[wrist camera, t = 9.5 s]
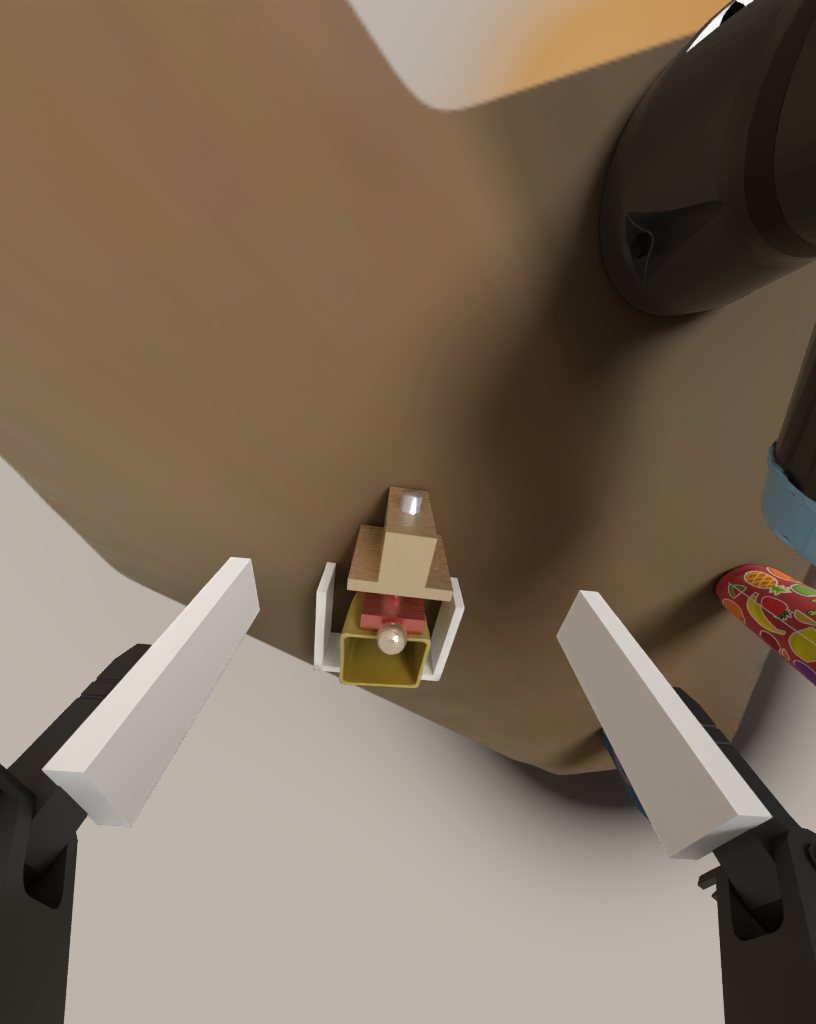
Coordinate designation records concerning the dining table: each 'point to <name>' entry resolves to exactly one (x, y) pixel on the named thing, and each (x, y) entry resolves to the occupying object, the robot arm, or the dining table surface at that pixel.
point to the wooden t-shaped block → (399, 569)
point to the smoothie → (774, 612)
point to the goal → (330, 641)
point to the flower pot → (379, 654)
